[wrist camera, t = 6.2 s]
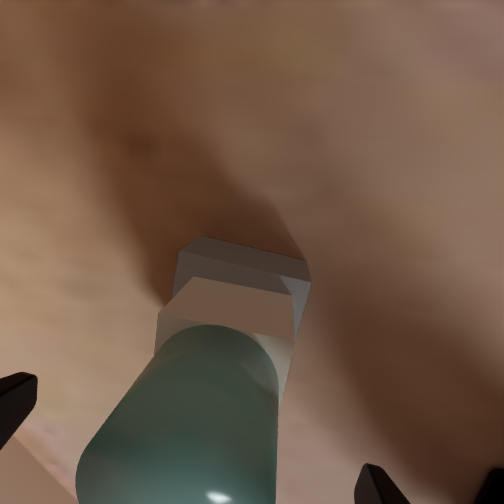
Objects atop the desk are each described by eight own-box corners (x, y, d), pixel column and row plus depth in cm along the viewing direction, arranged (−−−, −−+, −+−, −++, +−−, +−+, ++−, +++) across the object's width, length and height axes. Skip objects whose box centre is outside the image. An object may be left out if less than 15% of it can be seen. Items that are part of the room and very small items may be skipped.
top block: (273, 383, 15) (269, 455, 11) (182, 363, 15) (146, 426, 11) (292, 295, 14) (294, 341, 10) (193, 276, 14) (158, 313, 10)
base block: (280, 353, 19) (279, 398, 15) (185, 328, 19) (159, 366, 15) (305, 259, 17) (311, 282, 14) (202, 235, 18) (178, 250, 14)
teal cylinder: (262, 452, 11) (249, 602, 7) (143, 420, 11) (68, 547, 7) (293, 343, 10) (299, 449, 6) (161, 309, 10) (84, 391, 6)
